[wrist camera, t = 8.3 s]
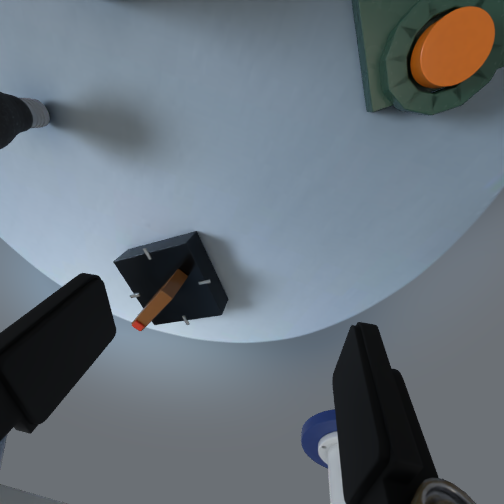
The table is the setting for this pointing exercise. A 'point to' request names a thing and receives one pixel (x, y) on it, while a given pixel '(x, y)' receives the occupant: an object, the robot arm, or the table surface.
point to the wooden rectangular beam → (160, 300)
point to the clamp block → (163, 267)
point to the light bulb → (19, 116)
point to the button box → (400, 50)
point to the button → (453, 48)
